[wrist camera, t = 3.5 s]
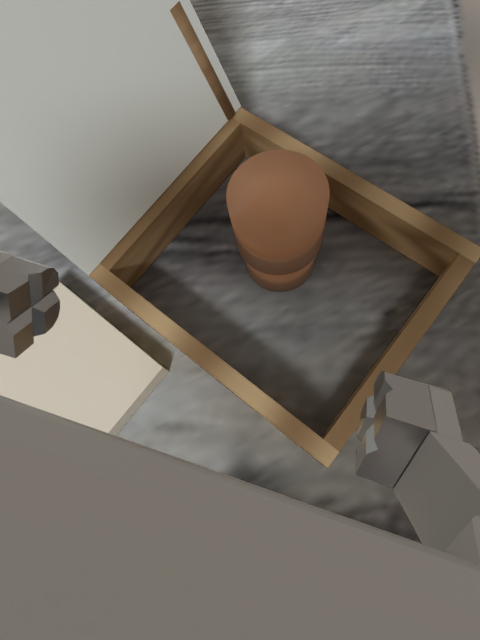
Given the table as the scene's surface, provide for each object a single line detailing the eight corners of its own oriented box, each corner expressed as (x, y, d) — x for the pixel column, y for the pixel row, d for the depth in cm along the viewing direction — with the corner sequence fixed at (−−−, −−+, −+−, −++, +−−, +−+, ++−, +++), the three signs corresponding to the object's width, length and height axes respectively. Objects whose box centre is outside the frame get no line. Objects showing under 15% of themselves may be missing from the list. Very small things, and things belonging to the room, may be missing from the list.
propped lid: (241, 108, 29) (207, -139, 17) (90, 276, 27) (-78, 132, 15) (170, 67, 31) (92, -186, 19) (22, 222, 29) (-180, 51, 16)
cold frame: (461, 273, 28) (552, 182, 18) (322, 465, 26) (343, 475, 16) (208, 119, 33) (176, -14, 24) (75, 266, 31) (-21, 184, 21)
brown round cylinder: (334, 251, 29) (350, 182, 22) (287, 310, 29) (287, 260, 21) (272, 211, 31) (267, 133, 23) (226, 266, 30) (205, 204, 22)
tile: (169, 371, 28) (162, 367, 27) (63, 499, 27) (50, 502, 25) (64, 285, 31) (54, 277, 29) (-38, 397, 29) (-55, 395, 28)
